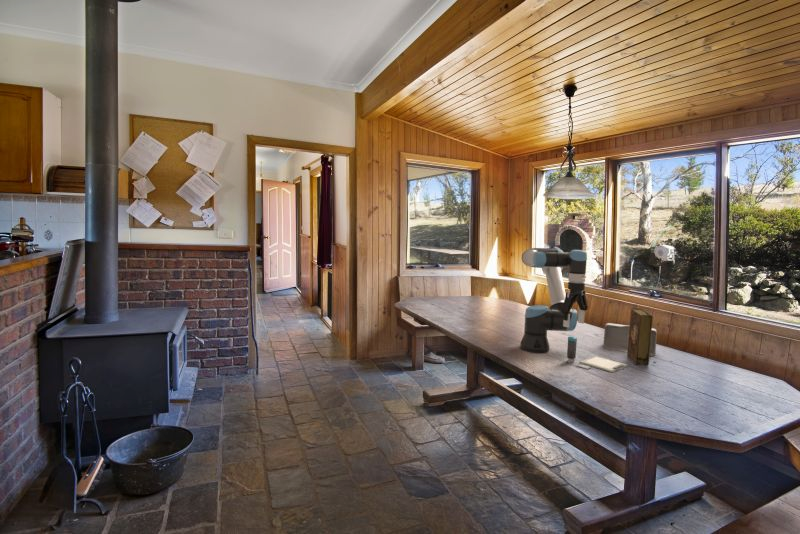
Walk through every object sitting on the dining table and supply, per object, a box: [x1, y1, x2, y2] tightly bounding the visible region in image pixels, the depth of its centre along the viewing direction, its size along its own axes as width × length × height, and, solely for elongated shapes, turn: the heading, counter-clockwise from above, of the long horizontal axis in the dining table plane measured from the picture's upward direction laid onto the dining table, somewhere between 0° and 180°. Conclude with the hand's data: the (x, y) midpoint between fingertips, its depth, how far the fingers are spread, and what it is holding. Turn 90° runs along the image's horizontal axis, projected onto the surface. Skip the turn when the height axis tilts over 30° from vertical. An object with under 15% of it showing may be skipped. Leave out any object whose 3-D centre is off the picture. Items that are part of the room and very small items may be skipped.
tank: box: [602, 322, 658, 356], centre depth 246 cm, size 25×16×12 cm, turn 62°
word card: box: [575, 363, 593, 370], centre depth 214 cm, size 6×4×1 cm, turn 39°
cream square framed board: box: [579, 355, 628, 373], centre depth 218 cm, size 16×15×1 cm
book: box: [626, 307, 654, 366], centre depth 224 cm, size 16×6×25 cm, turn 168°
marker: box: [566, 336, 578, 363], centre depth 221 cm, size 4×4×12 cm
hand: (573, 325), depth 220 cm, fingers open, 13 cm apart
